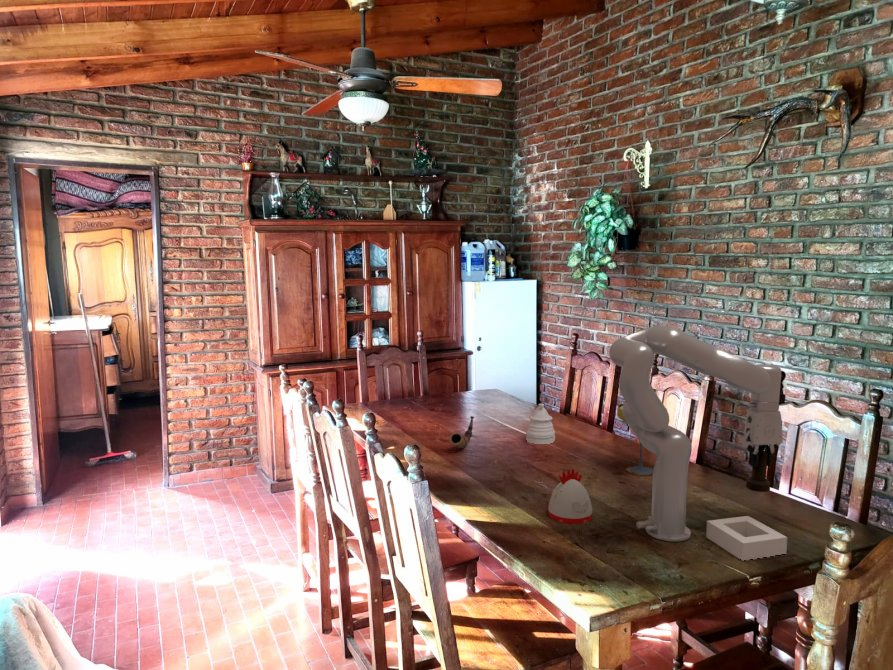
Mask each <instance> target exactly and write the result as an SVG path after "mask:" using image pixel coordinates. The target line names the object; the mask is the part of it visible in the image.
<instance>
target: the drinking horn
mask: <svg viewBox="0 0 893 670" xmlns="http://www.w3.org/2000/svg"><path fill="white" fill-rule="evenodd" d="M469 418H470V422H469V425H468V427H467V430H466V431H465V433H464V435H462V434H461V433H460V432H453V433H452V434H451V435H450V436H449V442H450V443H451V444H452V445H453V446H454V447H455V448H457V449H459V450H460V448H461V449H464V448H466V446H467V445H468V444H469V443H470V440H471V438H472V437H473V436H472V435H473V424H474V423H473V421H474V419H475V417H474V416H473V415H472V416H469Z"/></svg>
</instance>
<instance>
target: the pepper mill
mask: <svg viewBox="0 0 893 670" xmlns="http://www.w3.org/2000/svg"><path fill="white" fill-rule="evenodd" d="M764 449H765V445H759V448H758V452H757V454H758V455H759V460H758V467H753V466H751V467H752V468H751V476H748V478H746V479H745V488H746V489H748V490H750V491H754V492H760V493H761V492H762V493H767V492H770V491H771V482H770V480H768V478H767V468H768V466H767V458H768V453H766V452H764V451H765V450H764Z"/></svg>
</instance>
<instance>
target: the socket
mask: <svg viewBox="0 0 893 670" xmlns="http://www.w3.org/2000/svg"><path fill="white" fill-rule="evenodd" d="M705 533H706V534H705V535H706V536H705V537H706V538H707V539H708V540H710V541H711V542H713V543H714V544H716V545H717V546H719V547H720V548H722V549H723V550H725V551H726V552H728V553H729V554H731V555H733V556H734V557H736V558H738V559H739V560H740V559H741V561H742V562H745V561H744V560H746V561H751V560H750V559H753V560H758V559H757V558H760V559H764V558H763V557H767V558H771V557H770V556H774V557H776V556H775V555H781V554H786V555H787V545H788V536H785V535H784V534H782V533H780V532H778V531H776V529H773V528H771V527H769V526H767V525H766V524H764V523H762V522H760V521H758V520H757V519H755V518H753V517H751V516H749V515H745V516H743V515H742V516H735V517H726V518H720V519H719V518H718V519H712V520H711V519H710V520H706V532H705ZM781 556H782V555H781Z"/></svg>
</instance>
